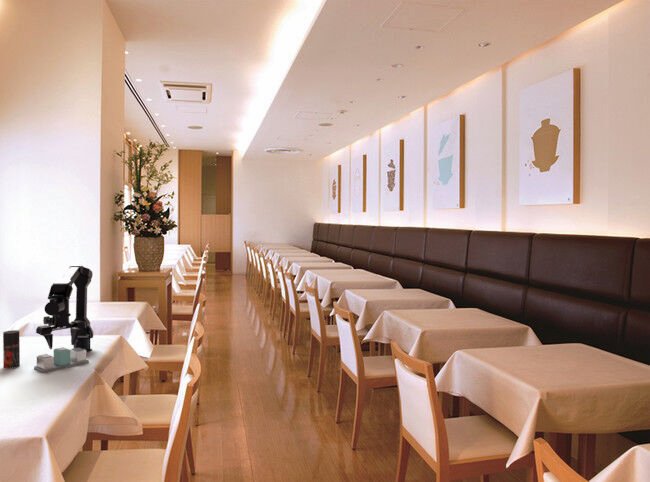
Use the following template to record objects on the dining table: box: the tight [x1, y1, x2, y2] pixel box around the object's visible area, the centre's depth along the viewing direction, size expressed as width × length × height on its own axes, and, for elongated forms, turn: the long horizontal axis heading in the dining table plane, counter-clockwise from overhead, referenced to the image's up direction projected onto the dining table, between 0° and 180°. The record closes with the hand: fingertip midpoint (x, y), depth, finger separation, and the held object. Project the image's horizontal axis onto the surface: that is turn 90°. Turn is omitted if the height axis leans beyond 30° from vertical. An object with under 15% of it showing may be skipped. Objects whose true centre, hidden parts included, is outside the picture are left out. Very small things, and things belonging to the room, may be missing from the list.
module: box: [53, 346, 71, 366], centre depth 216 cm, size 4×6×6 cm, turn 54°
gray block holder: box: [33, 347, 90, 374], centre depth 216 cm, size 19×9×6 cm, turn 144°
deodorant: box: [2, 329, 21, 369], centre depth 214 cm, size 6×6×15 cm
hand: (61, 347), depth 216 cm, fingers open, 9 cm apart
